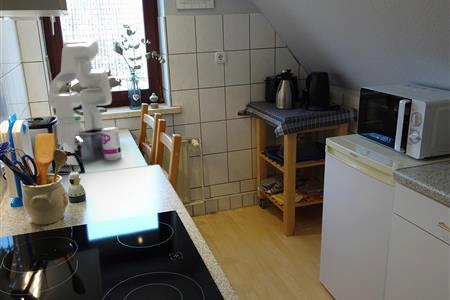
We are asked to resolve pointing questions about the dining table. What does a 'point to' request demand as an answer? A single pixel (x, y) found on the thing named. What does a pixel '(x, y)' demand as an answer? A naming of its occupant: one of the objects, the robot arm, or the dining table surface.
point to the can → (70, 159)
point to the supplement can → (111, 143)
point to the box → (92, 144)
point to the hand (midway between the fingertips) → (72, 157)
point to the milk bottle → (79, 124)
